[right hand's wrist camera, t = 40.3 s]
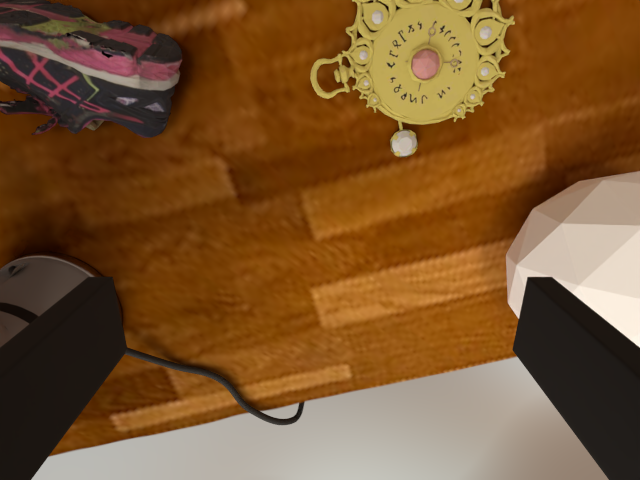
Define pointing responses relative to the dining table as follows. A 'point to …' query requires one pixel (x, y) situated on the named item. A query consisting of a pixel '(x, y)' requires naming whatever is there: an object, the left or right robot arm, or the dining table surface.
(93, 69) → the athletic shoe
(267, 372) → the dining table surface
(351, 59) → the decorative object
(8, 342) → the right robot arm
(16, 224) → the dining table surface
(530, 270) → the sphere
